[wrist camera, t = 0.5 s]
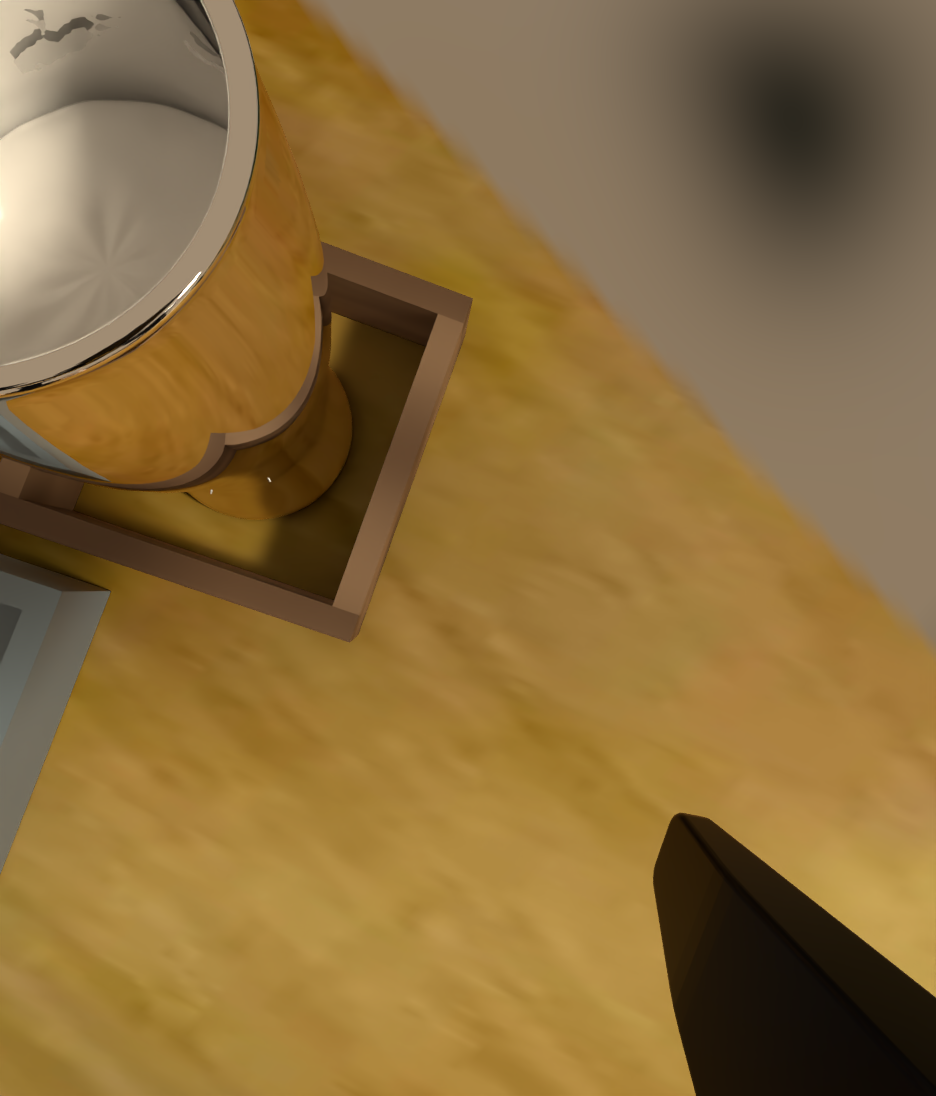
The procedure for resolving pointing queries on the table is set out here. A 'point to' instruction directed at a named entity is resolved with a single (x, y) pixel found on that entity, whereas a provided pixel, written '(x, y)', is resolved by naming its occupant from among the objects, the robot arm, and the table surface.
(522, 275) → the table surface
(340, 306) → the rectangular frame
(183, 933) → the table surface
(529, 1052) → the table surface
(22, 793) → the tray
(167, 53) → the silver metal cup
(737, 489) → the table surface
